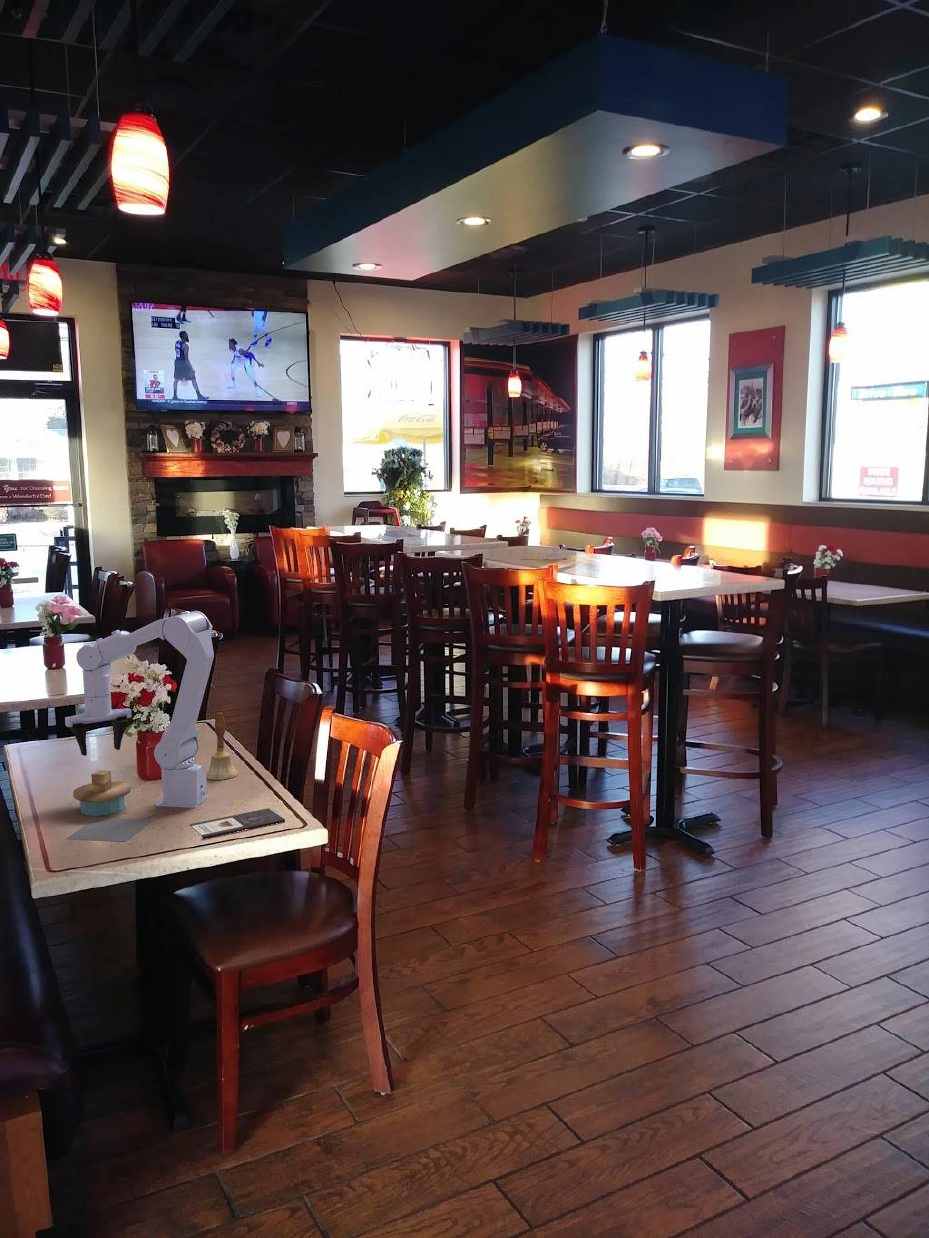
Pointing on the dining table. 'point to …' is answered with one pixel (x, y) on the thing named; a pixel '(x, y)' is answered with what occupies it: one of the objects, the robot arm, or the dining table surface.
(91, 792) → the lid
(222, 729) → the hand bell
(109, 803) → the bowl
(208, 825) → the chocolate bar
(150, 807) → the dining table surface
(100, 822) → the mat
